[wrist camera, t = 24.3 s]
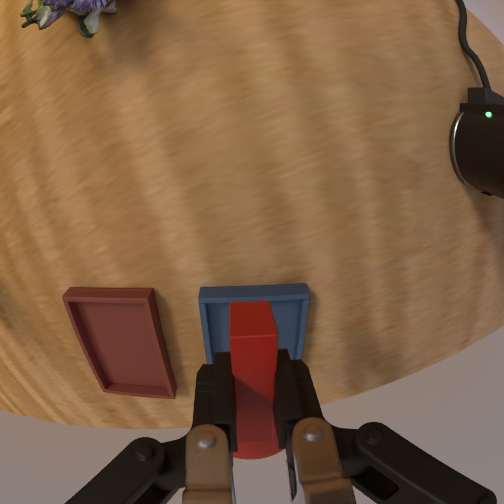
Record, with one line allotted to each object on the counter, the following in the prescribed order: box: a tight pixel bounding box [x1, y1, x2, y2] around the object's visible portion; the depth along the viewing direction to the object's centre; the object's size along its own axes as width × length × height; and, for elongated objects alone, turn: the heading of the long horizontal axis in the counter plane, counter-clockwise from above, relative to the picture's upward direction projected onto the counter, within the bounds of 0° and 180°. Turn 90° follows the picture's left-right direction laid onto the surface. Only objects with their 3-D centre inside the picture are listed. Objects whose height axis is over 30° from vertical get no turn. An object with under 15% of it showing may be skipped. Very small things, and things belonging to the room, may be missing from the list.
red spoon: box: [229, 301, 283, 459], centre depth 12 cm, size 10×4×2 cm, turn 1°
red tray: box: [62, 287, 177, 399], centre depth 29 cm, size 15×10×2 cm
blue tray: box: [198, 283, 310, 364], centre depth 30 cm, size 15×10×2 cm
